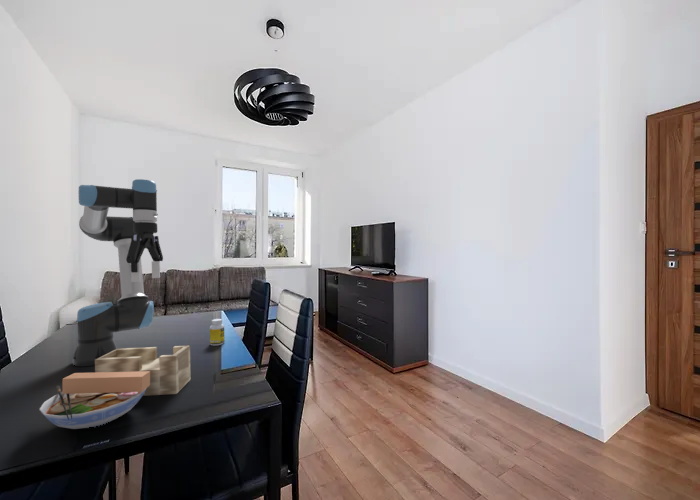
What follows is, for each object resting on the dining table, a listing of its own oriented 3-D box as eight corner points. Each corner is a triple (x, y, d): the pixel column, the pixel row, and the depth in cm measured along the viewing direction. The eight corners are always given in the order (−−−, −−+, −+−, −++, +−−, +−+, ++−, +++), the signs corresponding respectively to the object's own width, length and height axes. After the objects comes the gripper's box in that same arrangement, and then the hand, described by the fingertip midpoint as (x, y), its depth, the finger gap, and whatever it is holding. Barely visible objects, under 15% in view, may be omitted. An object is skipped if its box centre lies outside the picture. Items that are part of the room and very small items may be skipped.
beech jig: (95, 398, 99) (94, 359, 99) (118, 383, 110) (117, 348, 110) (176, 393, 101) (175, 356, 101) (190, 379, 112) (189, 345, 112)
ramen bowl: (159, 421, 85) (158, 391, 85) (39, 463, 69) (38, 425, 69) (139, 392, 103) (138, 366, 103) (40, 419, 87) (39, 389, 87)
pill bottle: (219, 346, 150) (218, 321, 150) (207, 345, 151) (206, 321, 151) (227, 342, 156) (226, 318, 156) (215, 341, 157) (215, 318, 157)
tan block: (62, 393, 84) (62, 378, 84) (74, 387, 88) (74, 373, 88) (141, 391, 86) (142, 376, 86) (150, 385, 90) (150, 371, 90)
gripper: (136, 219, 106) (138, 283, 106) (171, 224, 131) (172, 276, 131) (112, 219, 105) (114, 283, 105) (152, 224, 130) (153, 276, 130)
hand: (146, 279), depth 118 cm, fingers open, 13 cm apart
